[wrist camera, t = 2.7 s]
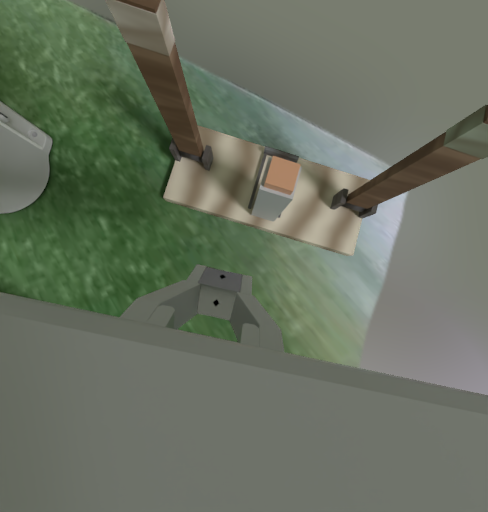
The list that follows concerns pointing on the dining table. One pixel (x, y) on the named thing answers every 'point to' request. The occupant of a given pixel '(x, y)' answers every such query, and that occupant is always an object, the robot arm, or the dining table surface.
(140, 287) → the dining table surface
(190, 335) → the robot arm
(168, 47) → the brown lever
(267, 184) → the slider
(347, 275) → the dining table surface
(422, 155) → the wooden stick
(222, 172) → the panel
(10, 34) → the dining table surface
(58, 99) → the dining table surface
